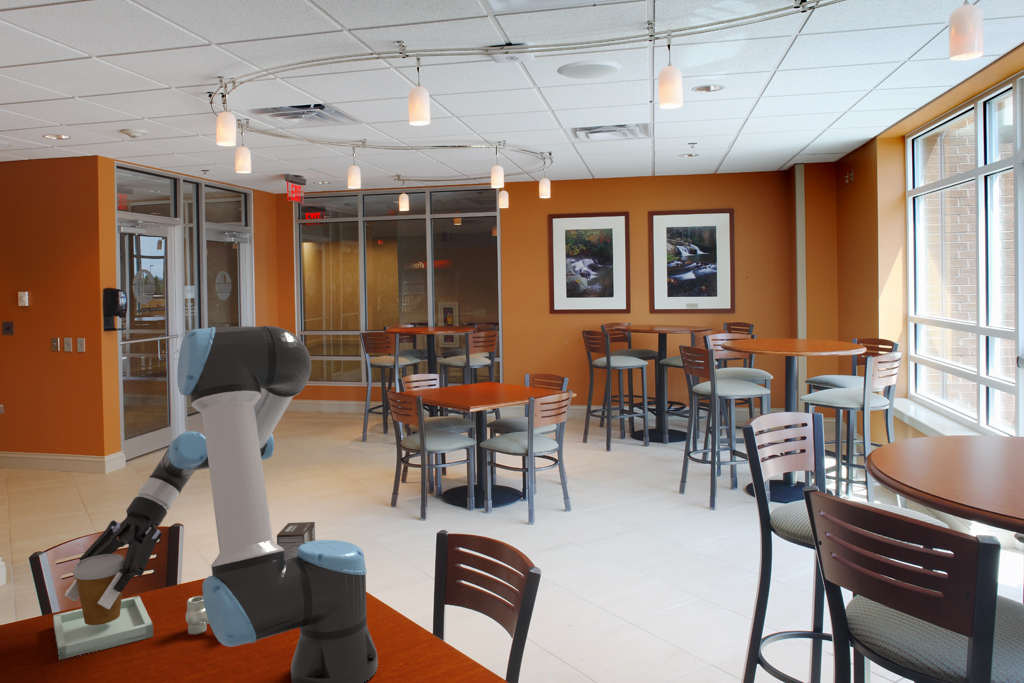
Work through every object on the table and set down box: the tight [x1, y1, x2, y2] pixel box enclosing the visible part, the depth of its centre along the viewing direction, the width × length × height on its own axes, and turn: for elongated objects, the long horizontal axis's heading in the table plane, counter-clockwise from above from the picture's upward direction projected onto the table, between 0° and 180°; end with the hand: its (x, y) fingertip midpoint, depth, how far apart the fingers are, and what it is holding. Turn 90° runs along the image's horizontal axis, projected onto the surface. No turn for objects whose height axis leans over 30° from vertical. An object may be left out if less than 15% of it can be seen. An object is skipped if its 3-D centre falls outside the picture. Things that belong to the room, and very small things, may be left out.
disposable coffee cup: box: [72, 553, 125, 625], centre depth 143 cm, size 10×10×12 cm
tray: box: [52, 595, 154, 661], centre depth 144 cm, size 18×16×2 cm
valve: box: [185, 595, 210, 635], centre depth 143 cm, size 7×7×12 cm
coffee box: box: [276, 521, 316, 559], centre depth 159 cm, size 9×6×16 cm
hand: (86, 602), depth 141 cm, fingers closed on disposable coffee cup, 9 cm apart
